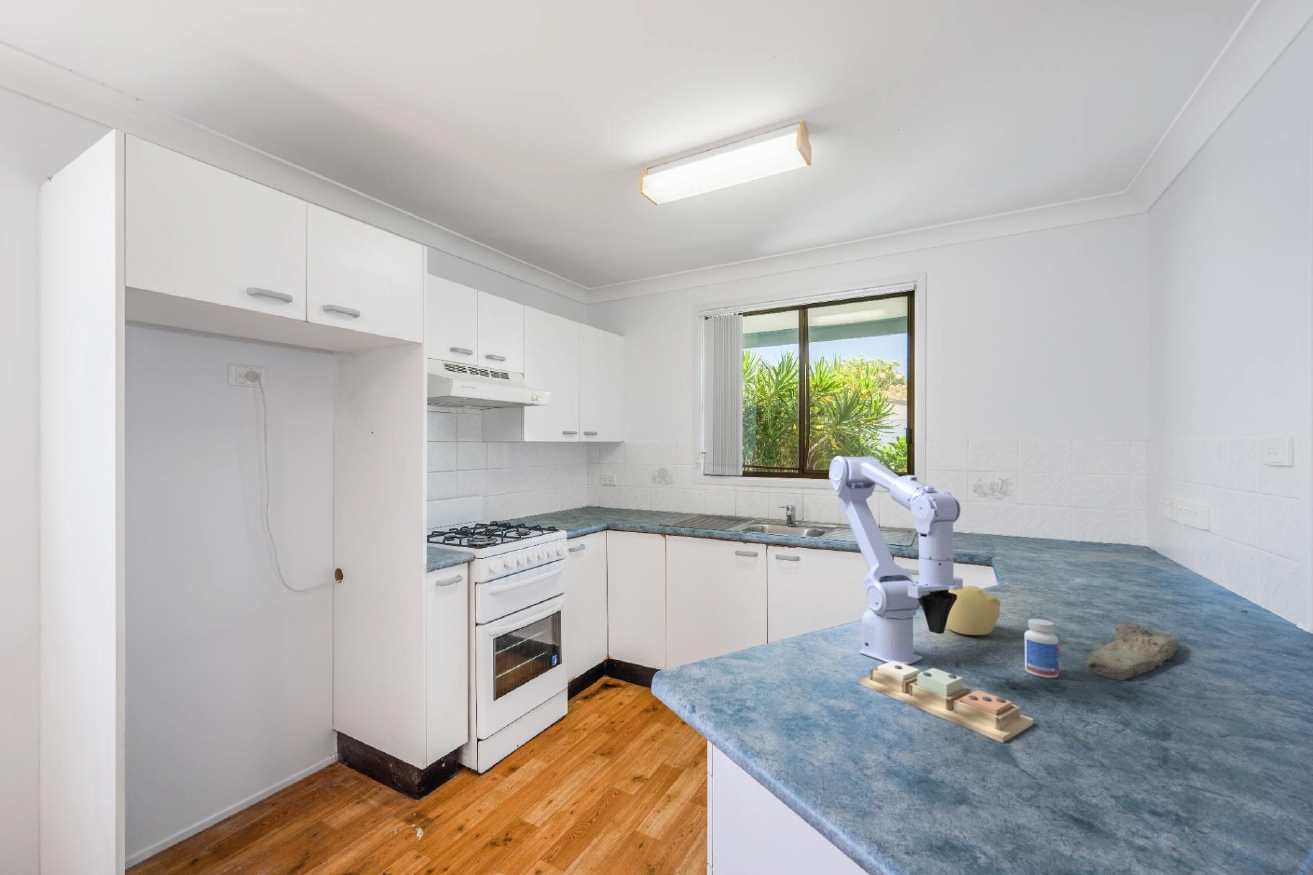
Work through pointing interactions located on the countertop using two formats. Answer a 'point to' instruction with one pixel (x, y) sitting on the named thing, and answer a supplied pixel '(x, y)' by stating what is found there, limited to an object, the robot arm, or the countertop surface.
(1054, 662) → the pill bottle
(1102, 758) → the countertop surface
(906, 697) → the tile board
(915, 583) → the robot arm
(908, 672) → the tile one
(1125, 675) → the long grey stone
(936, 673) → the tile two
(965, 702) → the tile three
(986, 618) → the sculpture
